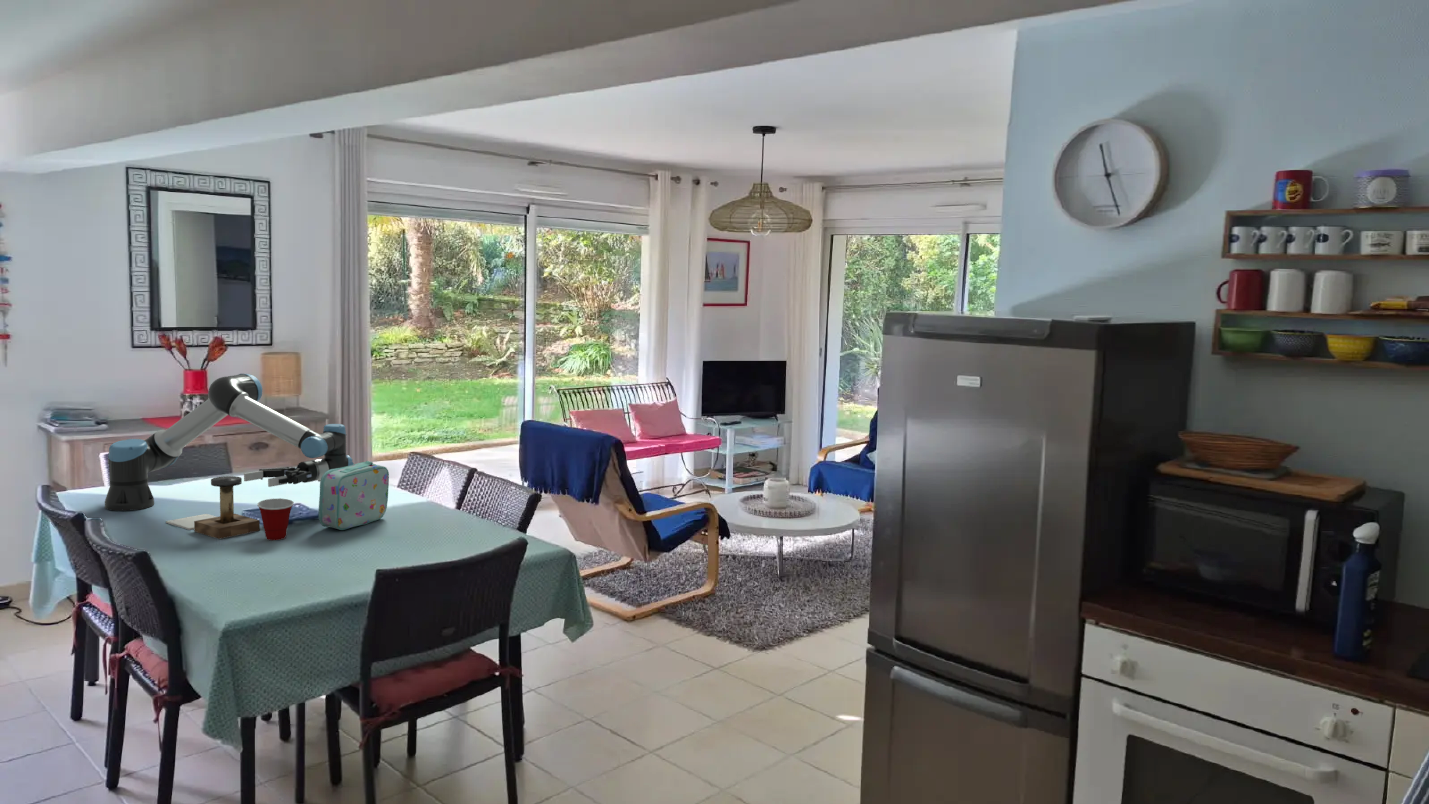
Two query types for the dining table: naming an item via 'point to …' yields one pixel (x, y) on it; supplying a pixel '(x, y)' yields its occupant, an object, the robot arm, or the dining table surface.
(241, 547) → the dining table surface
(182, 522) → the pad
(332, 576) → the dining table surface
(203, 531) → the eye block
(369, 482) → the lunch box
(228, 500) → the mushroom top post
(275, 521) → the plastic cup
